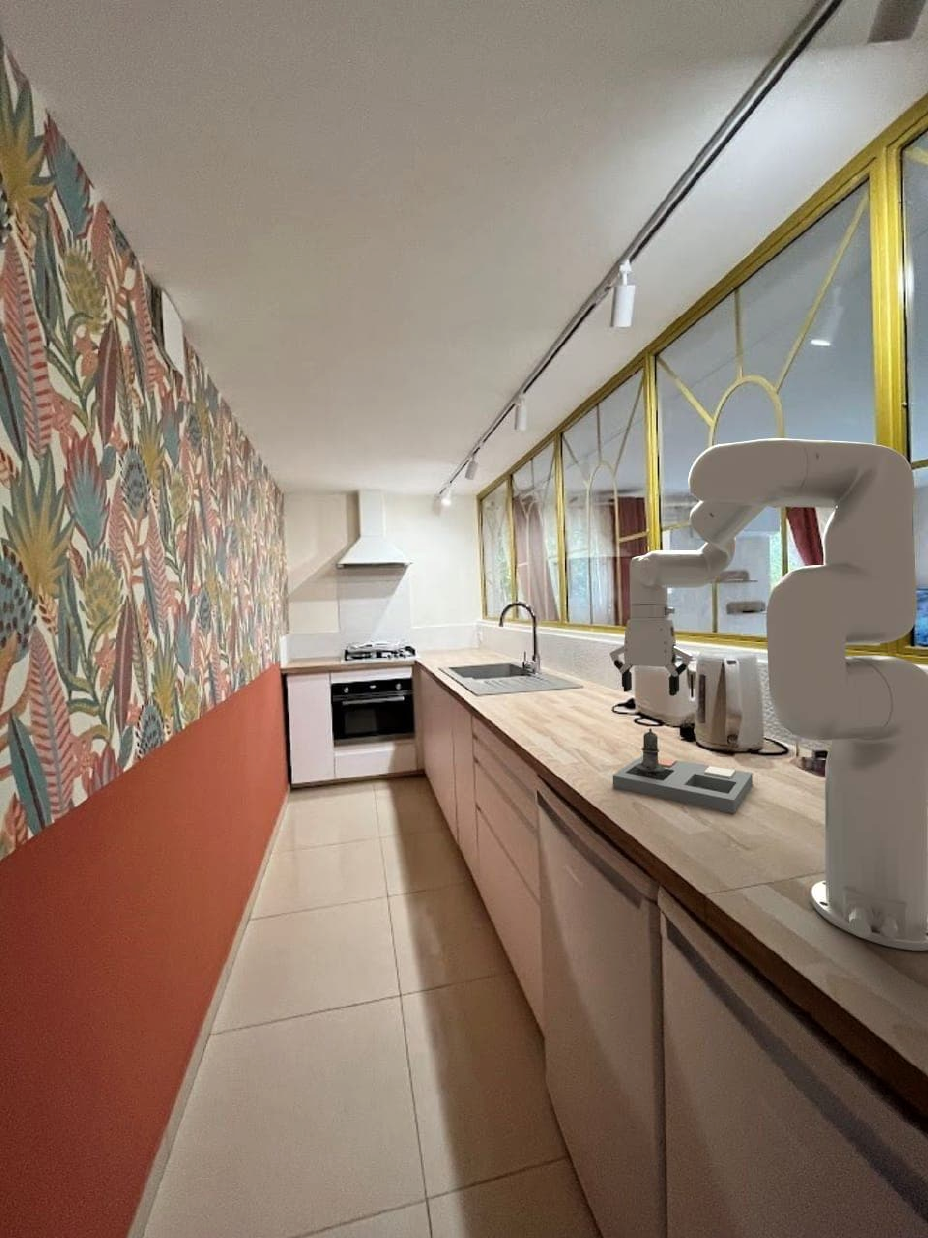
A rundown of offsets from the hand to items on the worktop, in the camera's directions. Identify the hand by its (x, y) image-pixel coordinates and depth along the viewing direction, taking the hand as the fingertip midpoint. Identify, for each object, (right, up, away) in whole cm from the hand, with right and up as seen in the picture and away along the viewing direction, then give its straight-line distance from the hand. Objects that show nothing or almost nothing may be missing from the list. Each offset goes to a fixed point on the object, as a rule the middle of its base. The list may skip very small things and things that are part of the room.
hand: (649, 692), depth 106 cm
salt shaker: (0, -20, 0) cm, 20 cm away
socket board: (+6, -20, -1) cm, 21 cm away
